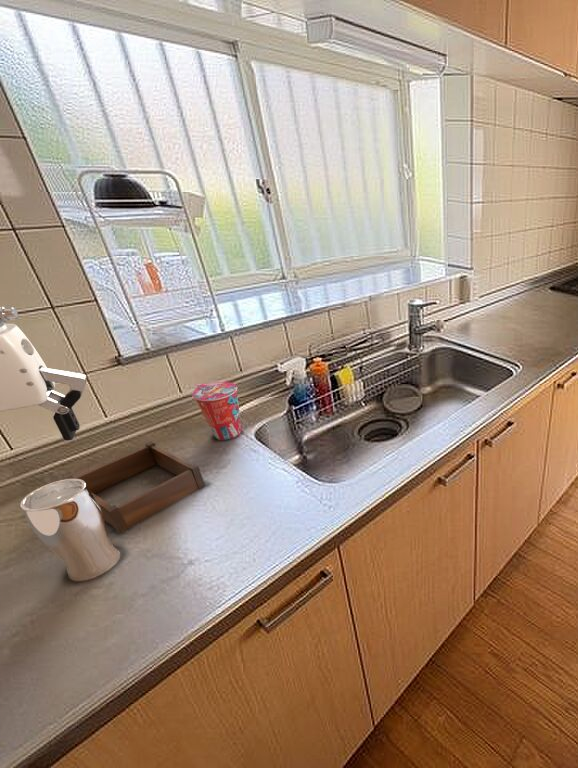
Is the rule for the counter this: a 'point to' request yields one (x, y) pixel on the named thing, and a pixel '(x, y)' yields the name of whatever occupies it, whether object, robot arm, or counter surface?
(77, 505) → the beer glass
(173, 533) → the counter surface
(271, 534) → the counter surface
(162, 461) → the tray
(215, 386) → the cup
